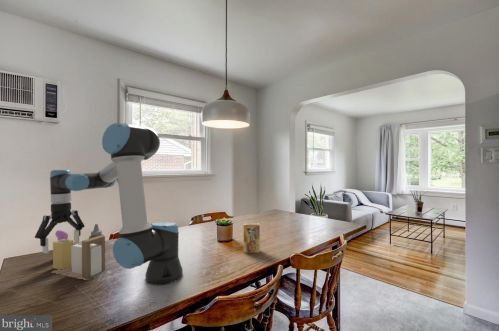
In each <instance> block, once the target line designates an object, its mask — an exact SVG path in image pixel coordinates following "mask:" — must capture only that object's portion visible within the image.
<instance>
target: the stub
mask: <svg viewBox="0 0 499 331" xmlns="http://www.w3.org/2000/svg"><path fill="white" fill-rule="evenodd" d="M73 242H74V239H62V240H59V241H58V240H56V241H53V242H52V259H53V260H52V268H53V269H60V270H63V269H66V268H68V267H71V246H72V245H73Z"/></svg>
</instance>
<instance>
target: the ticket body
mask: <svg viewBox="0 0 499 331" xmlns="http://www.w3.org/2000/svg"><path fill="white" fill-rule="evenodd" d="M96 242H97V244H93V243H96ZM105 250H106V235H104V236H97V237H94V238H90V239H89V238H87V239H84V240H81V241H79V243H77V244H73V245H72V246H71V267H72V272H73V273H78V274H82V277H83V278H89V277H91V276H93V275H96V274H98V273H100V272H102V271H104V270H105V268H106V251H105Z"/></svg>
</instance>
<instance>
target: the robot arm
mask: <svg viewBox="0 0 499 331" xmlns="http://www.w3.org/2000/svg"><path fill="white" fill-rule="evenodd" d="M160 141H161V140H160V136H159V135H158V134H157V132H156V131H155V130H154V129H152V128H150V127H148V126H147V127H146V126H141V125H140V126H139V125H133V124H129V123H125V122H124V123H121V122H120V123H118V122H116V123H112V124H110V125H108V126H107V127H106V128H105V131H104V133H103V135H102V139H101V145H102V149H103V150H104V152H105V153H107V154H109V155H110V159H111V162H110V163H108V164H107V165H106V166H105V167H104V168H102V169H101V170H99V171H98V172H92V173H71V171H70V170H69V169H53V170H52V169H51V170H50V173H49V175H50V176H49V187H50V190H49V191H50V203H51V204H50V213H51V214H50V215H43V216H42V221H41V223H40V225H39V227H38V229H37V231H36V233H35V235H34V238H35V239H39V240H40V241H39V242H40V244H39V245H40V247H42V254H49V238H48V236H49V235H50V234H51V232H52V231H53V229H54V228H55V227H56V226H57V225H58V224H62V223H68V224H69V225H70V226H71V227H73V228H74V230H73V242H74V243H76V244H77V243H80V237H81V231H82V230H83V228H85V223H84V222H83V221H82V219H81V217H80V215H79V211H78V210H74V209H73V210H72V202H71V201H72V191H73V192H79V191H80V192H81V191H84V190H93V189H107V188H110V187H113V186H114V185H115V183H116V181H117V183H118V185H117V186H118V194H119V204H120V212H121V223H122V227H121V229H120V230H119V231H118V239H116V240H115V241H114V242H113V244H112V253H113V258H114V259H115V261H116V262H117V264H118V265H120V267H122V268H124V269H128V270H129V269H134V268H136V267H141V266H142V265H144V264H145V263H148V262H149V263H148V264H147V268H146V271H145V281H146V283H148V284H149V285H156V286H157V285H158V286H160V285H162V286H163V285H167V284H171V283H173V282H176V281H178V280H179V279H181V278H182V277H183V272H184V271H183V266H182V265H181V264H182V262H181V260H180V257H179V234H180V232H179V226H178V225H177V223H174V222H164V221H163V222H153V223H149V222H148V215H147V207H146V206H147V205H146V197H145V196H146V195H145V188H144V177H143V168H142V161H147V160H149V159H150V158H152V157H153V156H154V155H155V154H157V152H158V150H159V149H160V146H161V142H160ZM71 216H72V218H71ZM73 219H74V220H73Z"/></svg>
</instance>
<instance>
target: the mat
mask: <svg viewBox="0 0 499 331" xmlns="http://www.w3.org/2000/svg"><path fill="white" fill-rule="evenodd" d="M111 270H112V268H108V267H105V270H104V271H102V272H100V273H98V274H96V275H93V276H91V277H89V278H85V279H87V280H88V281H91V280H92V279H94V278H96V277H98V276H100V275H102V274H105V273H107V272H109V271H111Z"/></svg>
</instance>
